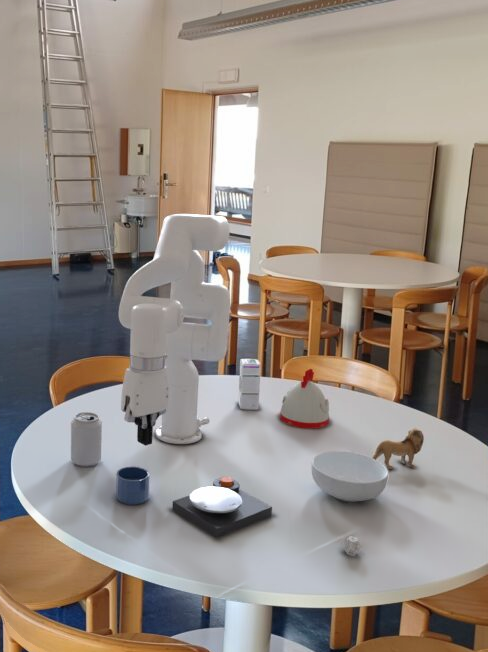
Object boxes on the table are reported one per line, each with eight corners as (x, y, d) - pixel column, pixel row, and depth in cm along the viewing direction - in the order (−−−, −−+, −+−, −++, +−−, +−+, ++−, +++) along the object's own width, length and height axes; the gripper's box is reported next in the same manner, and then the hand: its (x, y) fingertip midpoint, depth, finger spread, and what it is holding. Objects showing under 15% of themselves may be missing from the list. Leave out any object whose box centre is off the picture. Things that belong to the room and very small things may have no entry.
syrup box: (258, 410, 216) (262, 364, 213) (239, 409, 216) (242, 363, 213) (256, 403, 222) (259, 358, 219) (237, 403, 222) (239, 358, 219)
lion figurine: (411, 457, 184) (415, 425, 183) (426, 466, 180) (430, 432, 178) (364, 464, 179) (368, 430, 178) (378, 473, 174) (381, 438, 173)
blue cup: (135, 488, 163) (136, 463, 162) (155, 500, 157) (156, 475, 156) (109, 496, 159) (110, 471, 157) (128, 509, 153) (129, 483, 152)
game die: (341, 555, 138) (342, 541, 137) (343, 546, 141) (344, 532, 141) (360, 559, 137) (361, 545, 136) (361, 550, 140) (362, 536, 139)
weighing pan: (216, 484, 159) (216, 482, 158) (252, 503, 150) (252, 501, 150) (179, 497, 152) (179, 495, 152) (214, 518, 143) (214, 516, 143)
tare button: (226, 481, 161) (226, 475, 161) (235, 485, 159) (235, 480, 159) (217, 484, 159) (217, 478, 159) (226, 488, 157) (226, 483, 157)
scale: (225, 489, 164) (226, 475, 163) (272, 515, 153) (273, 500, 152) (171, 509, 154) (171, 494, 153) (216, 538, 143) (217, 522, 142)
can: (96, 469, 172) (97, 422, 170) (66, 466, 173) (67, 419, 171) (104, 457, 179) (105, 412, 177) (75, 453, 181) (76, 409, 178)
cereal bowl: (344, 518, 152) (347, 487, 151) (294, 485, 167) (296, 457, 165) (402, 502, 160) (405, 473, 158) (349, 473, 174) (351, 446, 173)
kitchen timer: (334, 417, 211) (339, 369, 208) (319, 432, 200) (323, 380, 197) (290, 408, 219) (293, 361, 215) (272, 421, 207) (276, 371, 204)
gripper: (162, 352, 159) (159, 430, 163) (108, 363, 150) (106, 445, 154) (185, 360, 153) (181, 440, 157) (130, 372, 144) (128, 456, 148)
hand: (144, 442), depth 155 cm, fingers closed
